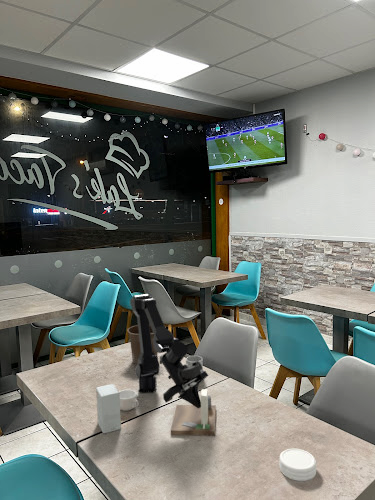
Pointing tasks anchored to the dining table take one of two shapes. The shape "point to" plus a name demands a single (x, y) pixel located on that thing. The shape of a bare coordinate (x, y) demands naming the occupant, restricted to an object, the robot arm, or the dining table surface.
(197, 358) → the cup
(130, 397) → the teacup
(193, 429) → the brown flat panel
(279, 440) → the dining table surface
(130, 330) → the plant pot
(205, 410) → the lever
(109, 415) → the small box
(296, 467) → the coaster
